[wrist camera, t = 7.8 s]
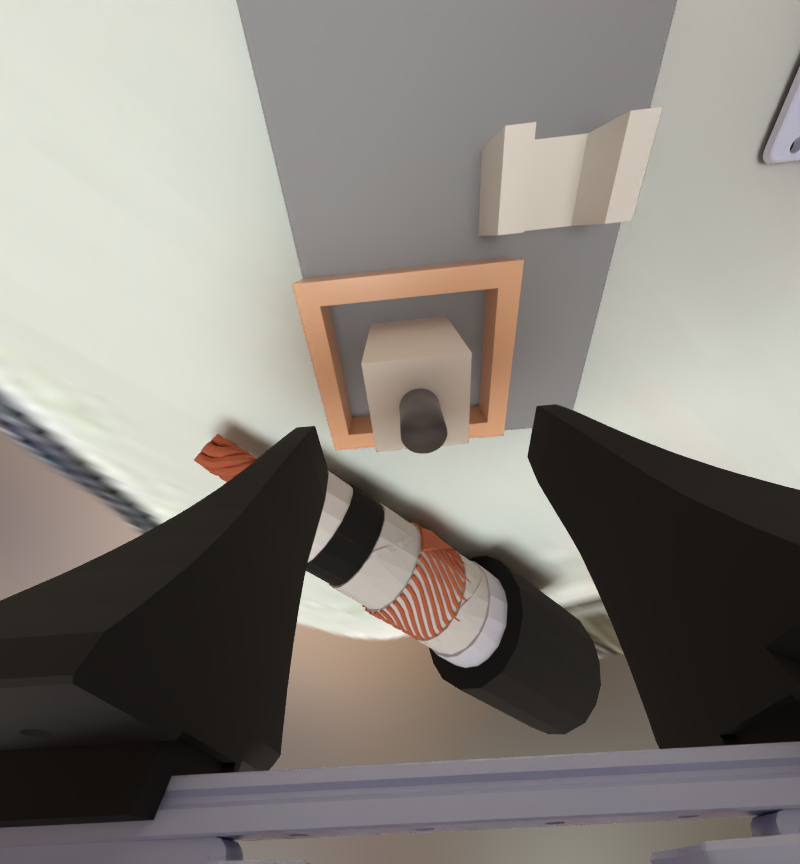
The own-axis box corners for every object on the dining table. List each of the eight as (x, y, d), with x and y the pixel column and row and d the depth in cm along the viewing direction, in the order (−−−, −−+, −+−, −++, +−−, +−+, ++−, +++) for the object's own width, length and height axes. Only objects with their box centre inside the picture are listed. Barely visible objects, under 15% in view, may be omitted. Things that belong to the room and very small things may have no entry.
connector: (446, 315, 16) (486, 373, 9) (446, 385, 18) (479, 474, 11) (371, 323, 16) (355, 386, 9) (380, 392, 18) (373, 483, 11)
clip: (606, 133, 12) (662, 106, 10) (587, 223, 14) (631, 220, 11) (482, 148, 12) (505, 125, 10) (478, 235, 14) (497, 235, 11)
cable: (272, 384, 24) (238, 382, 14) (537, 583, 33) (627, 662, 24) (188, 487, 23) (92, 558, 13) (482, 658, 33) (551, 771, 23)
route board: (756, -414, 7) (802, -496, 7) (561, 416, 21) (569, 424, 20) (171, -315, 8) (145, -381, 7) (344, 436, 21) (343, 444, 20)
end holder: (508, 257, 14) (523, 259, 13) (493, 418, 19) (503, 435, 18) (303, 278, 15) (292, 284, 13) (339, 432, 20) (335, 450, 18)
